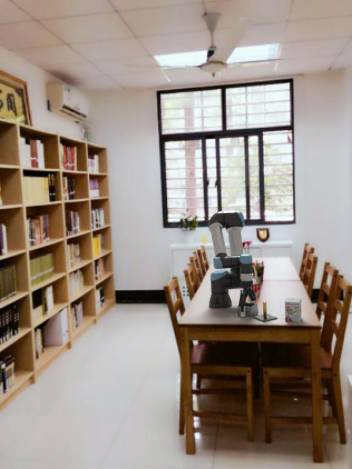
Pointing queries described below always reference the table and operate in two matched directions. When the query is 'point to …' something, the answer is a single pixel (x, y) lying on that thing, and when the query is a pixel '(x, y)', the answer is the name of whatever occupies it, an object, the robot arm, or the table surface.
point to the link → (249, 309)
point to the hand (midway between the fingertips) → (248, 314)
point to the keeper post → (265, 315)
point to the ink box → (293, 310)
